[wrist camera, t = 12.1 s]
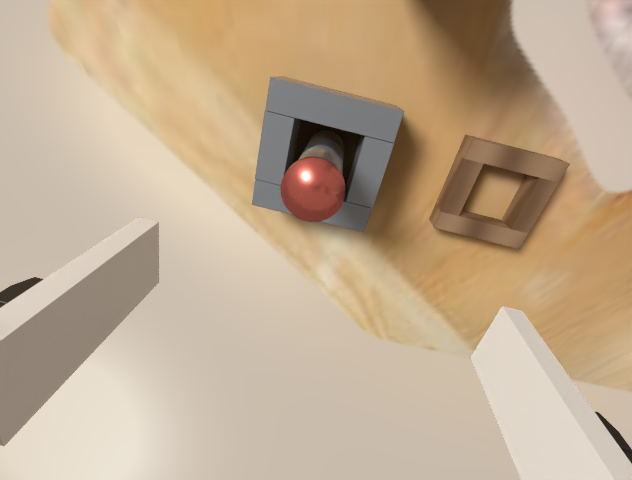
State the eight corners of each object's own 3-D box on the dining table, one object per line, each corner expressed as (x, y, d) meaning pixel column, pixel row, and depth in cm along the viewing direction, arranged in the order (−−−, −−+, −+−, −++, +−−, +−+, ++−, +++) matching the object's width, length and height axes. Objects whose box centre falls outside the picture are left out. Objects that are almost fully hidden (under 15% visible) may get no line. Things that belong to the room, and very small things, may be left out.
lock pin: (351, 133, 35) (352, 168, 22) (340, 173, 38) (335, 228, 24) (310, 122, 35) (286, 152, 22) (301, 163, 38) (275, 213, 24)
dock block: (396, 105, 34) (404, 111, 29) (362, 211, 39) (364, 232, 34) (282, 76, 34) (269, 76, 28) (264, 186, 39) (251, 204, 34)
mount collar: (555, 157, 35) (570, 163, 32) (509, 238, 39) (519, 248, 37) (465, 134, 34) (473, 139, 32) (429, 219, 39) (434, 227, 37)
